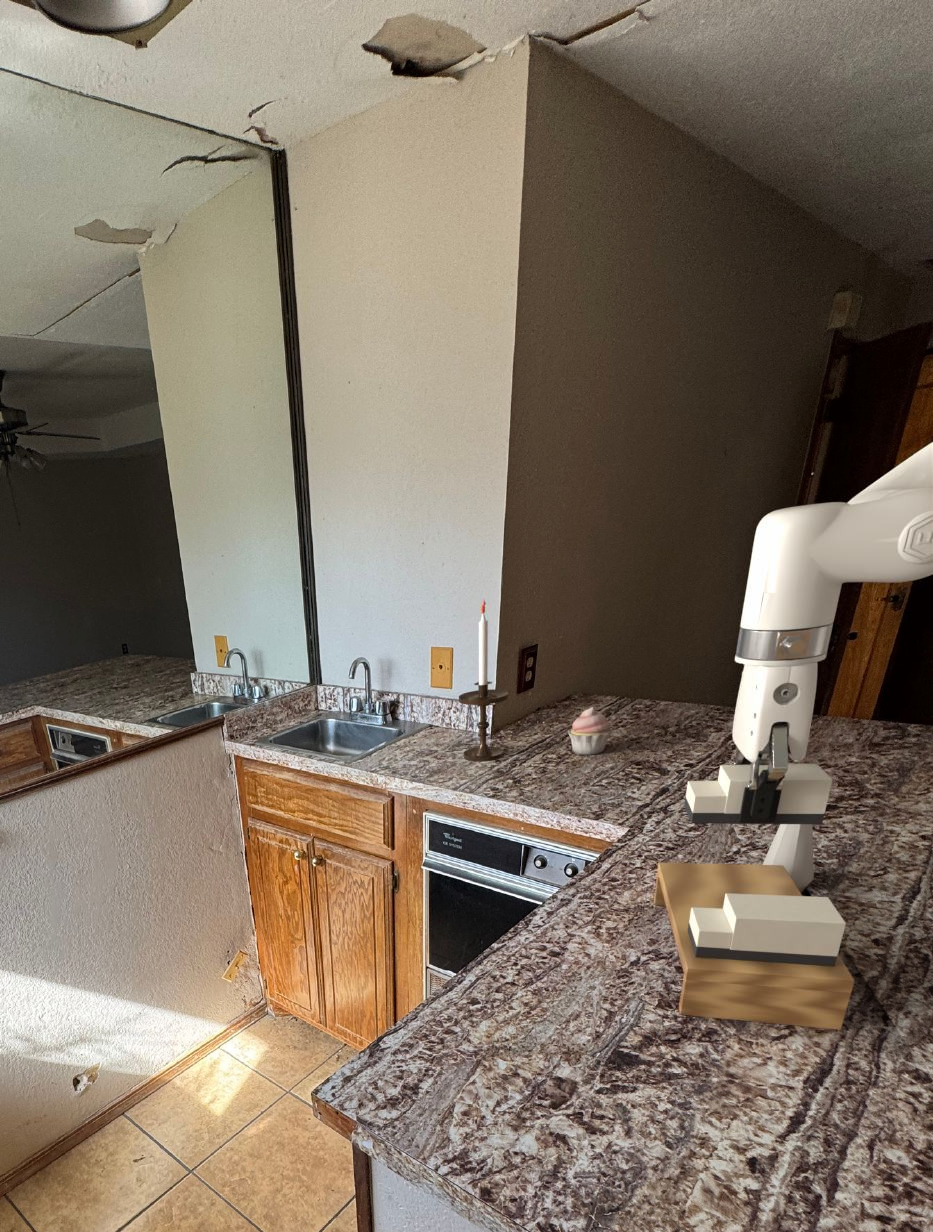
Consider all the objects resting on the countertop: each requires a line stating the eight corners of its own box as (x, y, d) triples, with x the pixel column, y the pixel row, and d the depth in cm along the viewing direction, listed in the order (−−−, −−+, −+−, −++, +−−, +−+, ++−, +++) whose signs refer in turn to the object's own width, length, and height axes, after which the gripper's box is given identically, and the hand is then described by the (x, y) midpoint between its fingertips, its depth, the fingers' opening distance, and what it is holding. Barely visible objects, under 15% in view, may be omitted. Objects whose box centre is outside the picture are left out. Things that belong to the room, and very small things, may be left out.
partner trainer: (817, 938, 73) (828, 896, 71) (834, 966, 68) (846, 923, 66) (687, 931, 77) (693, 892, 75) (695, 957, 73) (701, 916, 71)
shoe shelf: (774, 906, 90) (783, 865, 87) (840, 1030, 69) (855, 980, 66) (653, 901, 95) (658, 862, 93) (680, 1014, 74) (687, 968, 71)
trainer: (806, 806, 77) (816, 763, 75) (822, 824, 73) (833, 779, 70) (684, 806, 82) (689, 765, 79) (691, 823, 77) (697, 781, 75)
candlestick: (510, 760, 158) (513, 597, 143) (461, 764, 160) (459, 604, 145) (503, 747, 168) (506, 593, 152) (457, 751, 170) (455, 600, 155)
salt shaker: (754, 878, 97) (772, 791, 91) (805, 881, 94) (826, 791, 89) (760, 897, 92) (778, 806, 87) (813, 901, 90) (835, 808, 84)
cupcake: (608, 757, 150) (611, 712, 146) (562, 756, 155) (565, 712, 151) (614, 745, 157) (618, 701, 153) (570, 744, 162) (573, 702, 158)
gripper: (858, 656, 61) (813, 843, 69) (802, 628, 75) (770, 786, 83) (757, 662, 63) (725, 842, 71) (721, 634, 77) (698, 787, 85)
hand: (750, 810), depth 77 cm, fingers closed on trainer, 5 cm apart
